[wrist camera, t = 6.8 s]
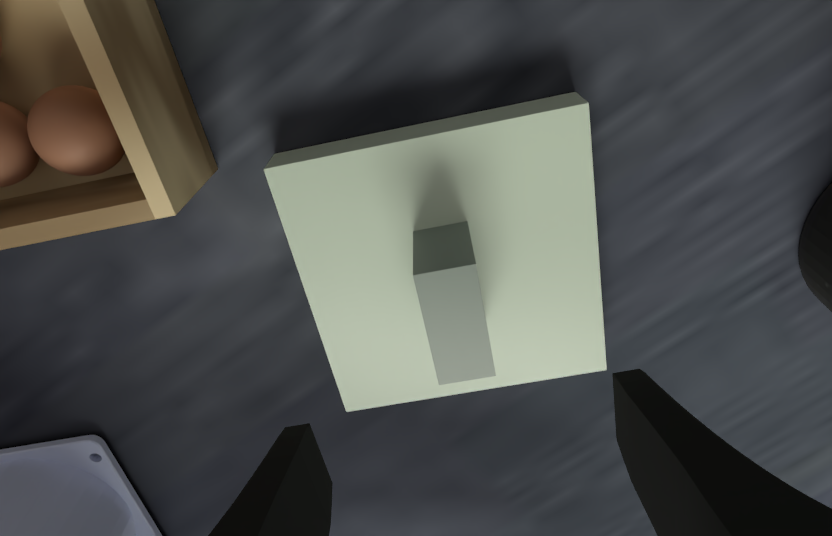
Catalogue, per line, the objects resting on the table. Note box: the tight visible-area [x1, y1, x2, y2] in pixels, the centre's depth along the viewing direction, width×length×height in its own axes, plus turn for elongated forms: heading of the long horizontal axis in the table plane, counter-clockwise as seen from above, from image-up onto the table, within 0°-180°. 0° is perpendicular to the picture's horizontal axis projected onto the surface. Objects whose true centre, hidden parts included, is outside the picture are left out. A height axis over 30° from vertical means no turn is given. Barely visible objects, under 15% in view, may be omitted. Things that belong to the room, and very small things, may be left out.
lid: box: [264, 92, 607, 412], centre depth 19 cm, size 10×10×5 cm
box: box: [0, 0, 218, 250], centre depth 17 cm, size 8×8×4 cm
